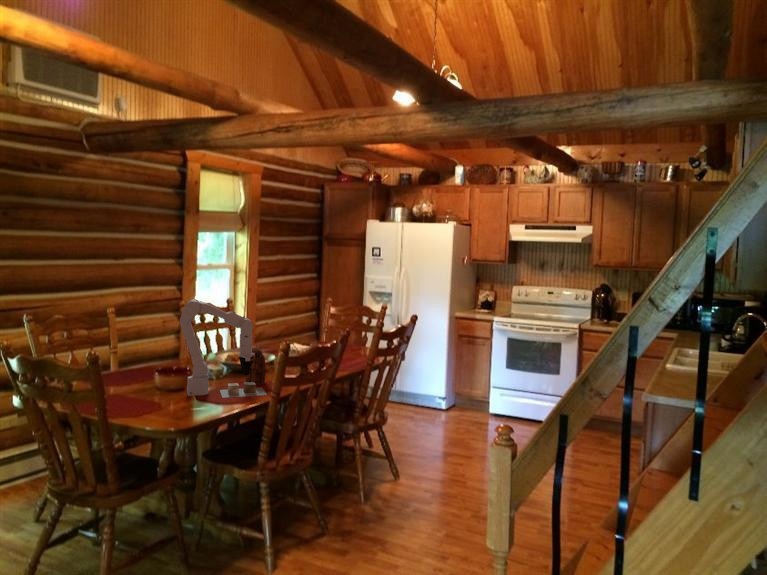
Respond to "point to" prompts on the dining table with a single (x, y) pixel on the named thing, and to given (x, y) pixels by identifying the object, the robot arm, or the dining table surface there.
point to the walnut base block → (249, 387)
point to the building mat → (241, 393)
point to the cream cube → (233, 388)
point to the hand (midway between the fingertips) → (245, 373)
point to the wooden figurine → (257, 368)
